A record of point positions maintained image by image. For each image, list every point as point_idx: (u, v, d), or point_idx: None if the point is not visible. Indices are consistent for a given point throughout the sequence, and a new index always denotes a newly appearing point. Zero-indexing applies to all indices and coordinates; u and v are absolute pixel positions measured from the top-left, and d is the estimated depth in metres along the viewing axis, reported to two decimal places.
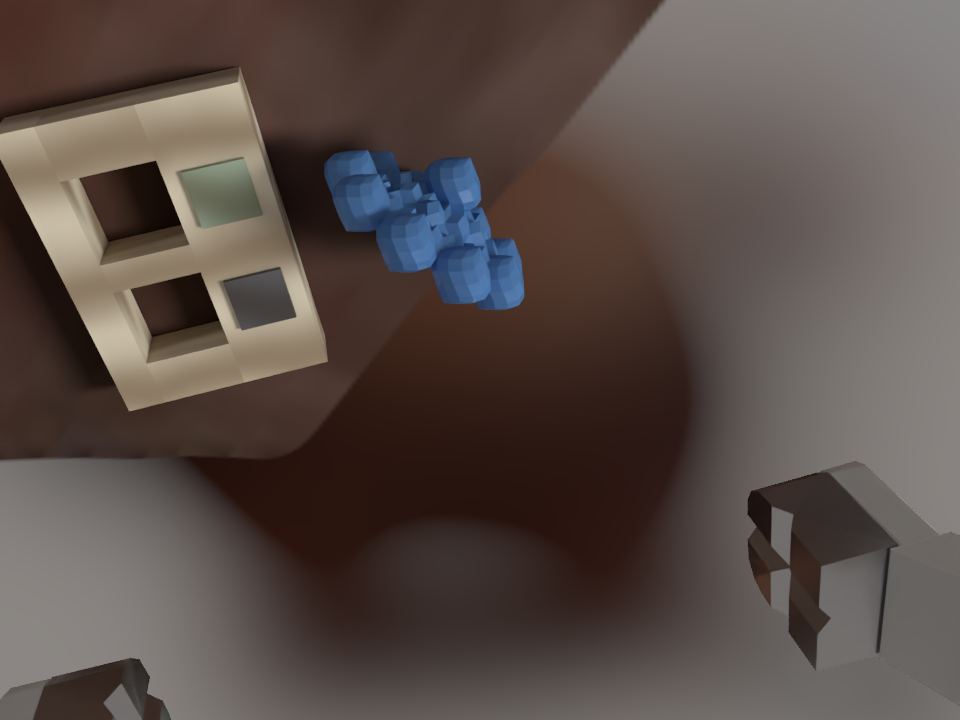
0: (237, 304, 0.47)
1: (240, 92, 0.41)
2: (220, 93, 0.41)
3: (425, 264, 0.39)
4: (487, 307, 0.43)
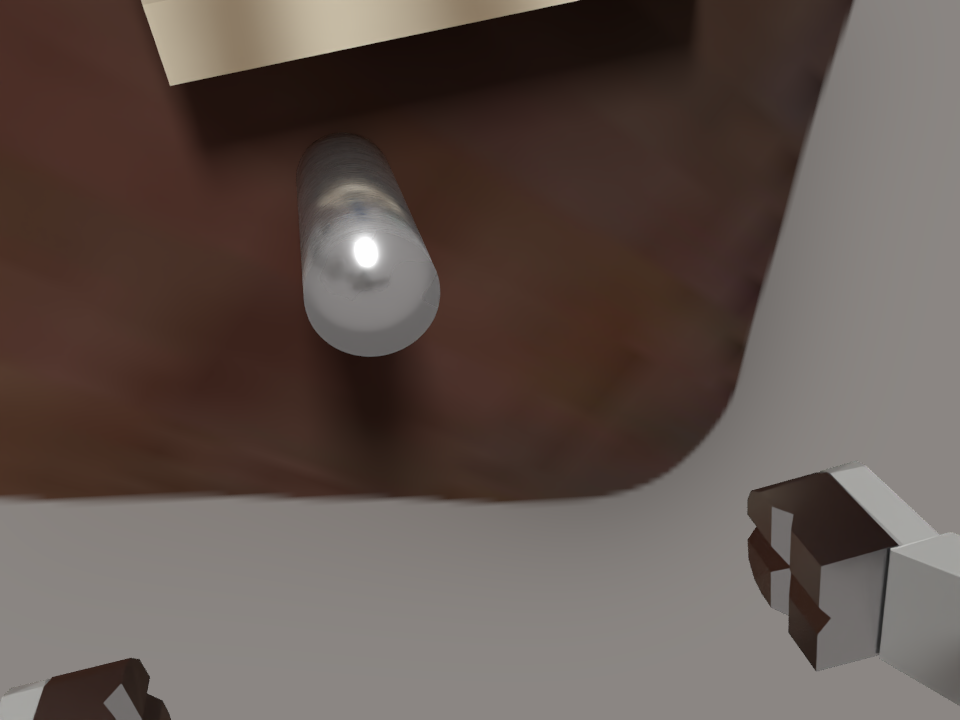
0: None
1: None
2: None
3: None
4: None
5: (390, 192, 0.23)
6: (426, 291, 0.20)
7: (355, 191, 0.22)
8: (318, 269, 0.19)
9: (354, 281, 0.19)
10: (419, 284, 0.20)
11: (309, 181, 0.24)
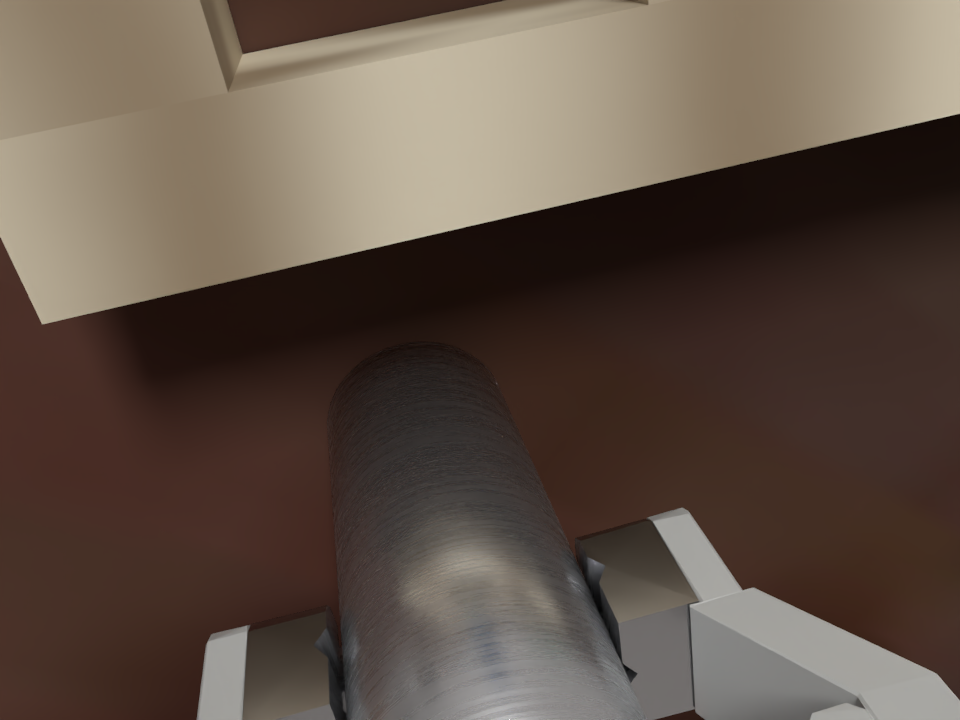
0: None
1: None
2: None
3: None
4: None
5: (568, 601, 0.09)
6: None
7: (497, 644, 0.08)
8: None
9: None
10: None
11: (362, 509, 0.11)
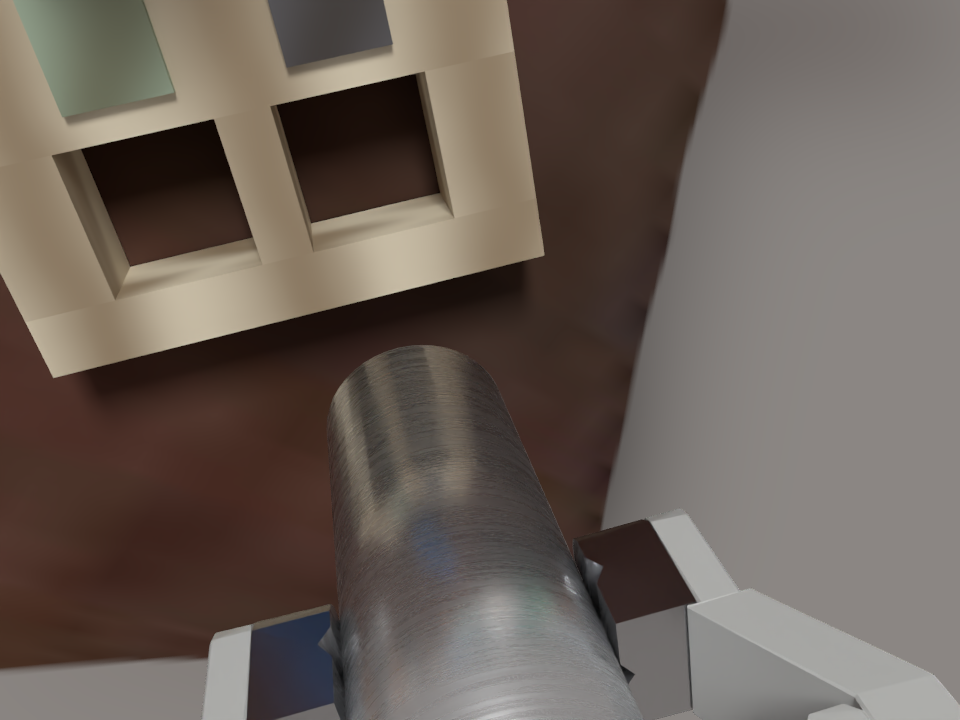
0: (334, 45, 0.24)
1: None
2: None
3: None
4: None
5: (567, 606, 0.09)
6: None
7: (497, 648, 0.08)
8: None
9: None
10: None
11: (362, 513, 0.11)
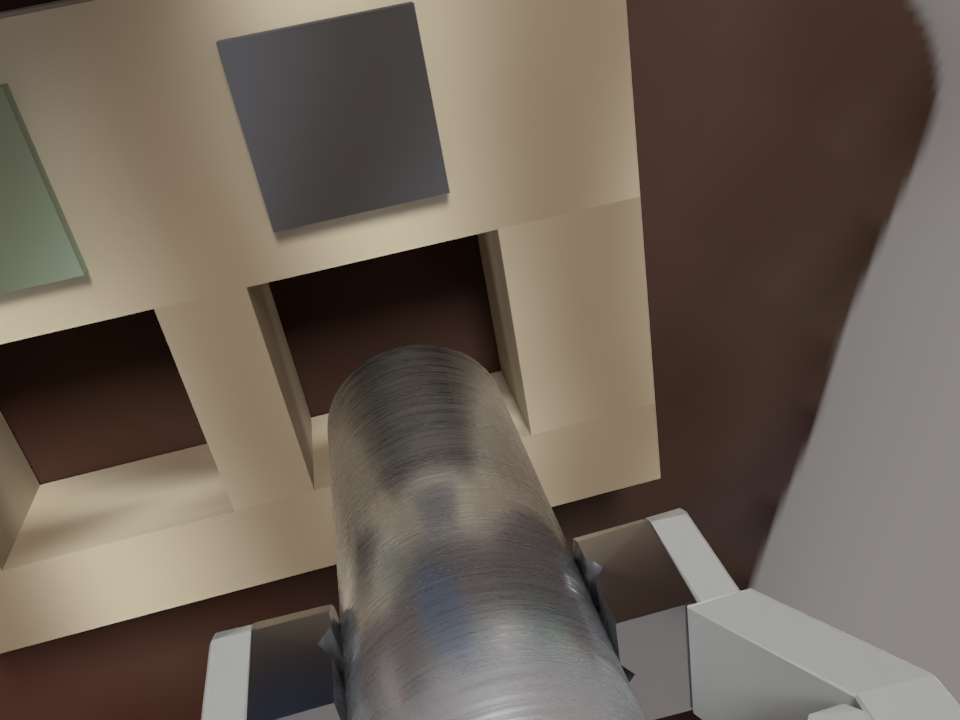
0: (353, 197, 0.15)
1: None
2: None
3: None
4: None
5: (569, 605, 0.09)
6: None
7: (497, 648, 0.08)
8: None
9: None
10: None
11: (363, 512, 0.11)
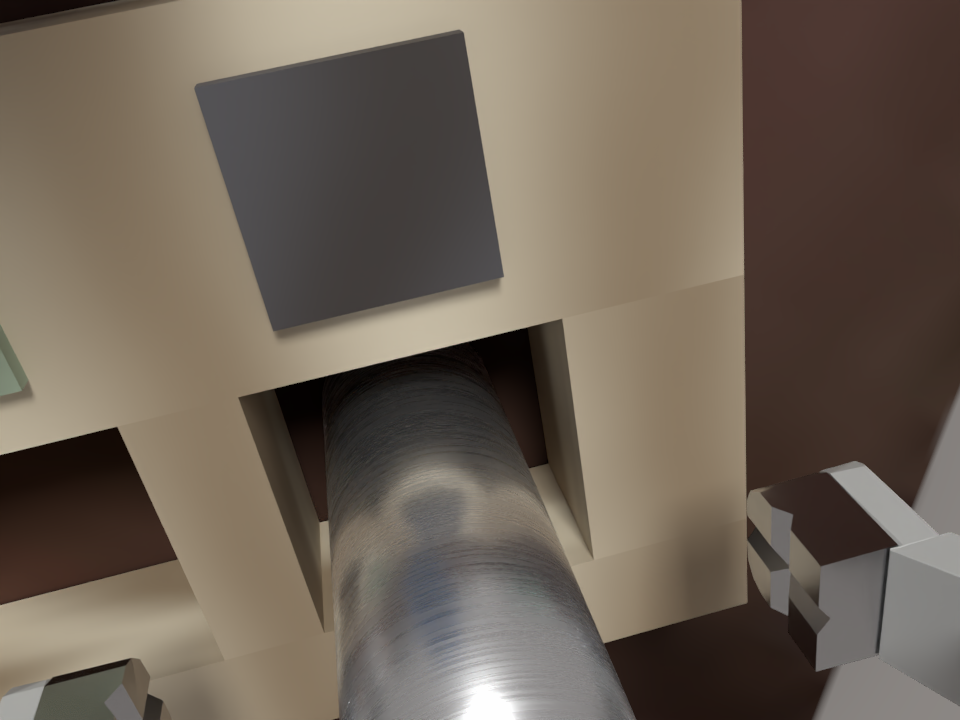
0: (378, 284, 0.11)
1: None
2: None
3: None
4: None
5: (538, 548, 0.10)
6: None
7: (470, 582, 0.09)
8: None
9: None
10: None
11: (352, 470, 0.12)
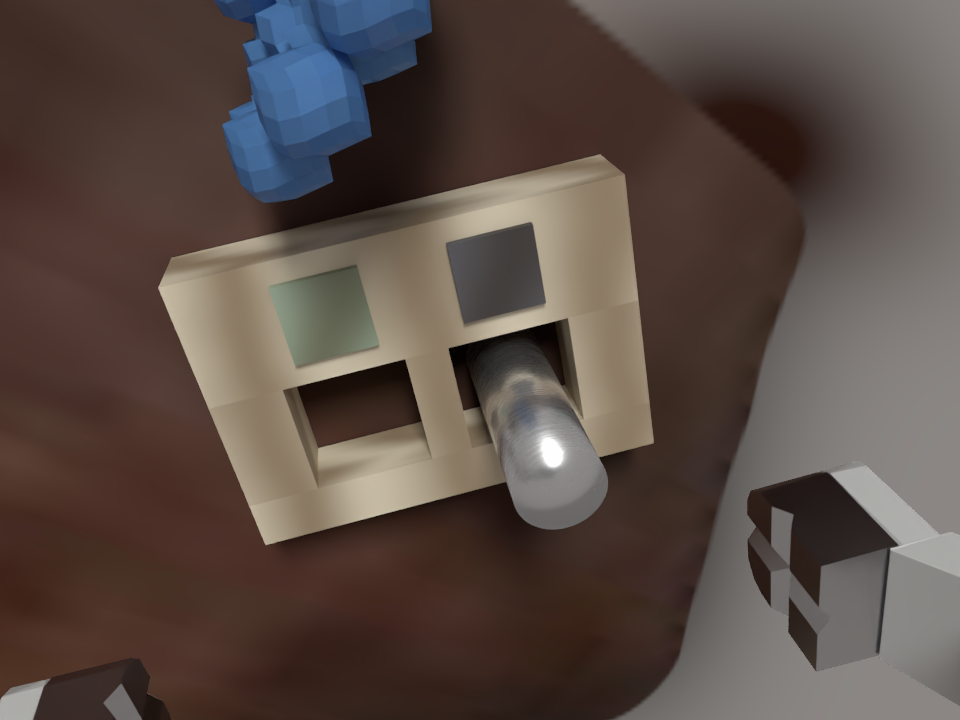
0: (501, 306, 0.31)
1: (173, 285, 0.29)
2: (178, 310, 0.30)
3: (330, 81, 0.19)
4: None
5: (559, 394, 0.30)
6: (597, 485, 0.27)
7: (537, 400, 0.29)
8: (524, 475, 0.27)
9: (548, 481, 0.27)
10: (593, 482, 0.27)
11: (490, 375, 0.32)
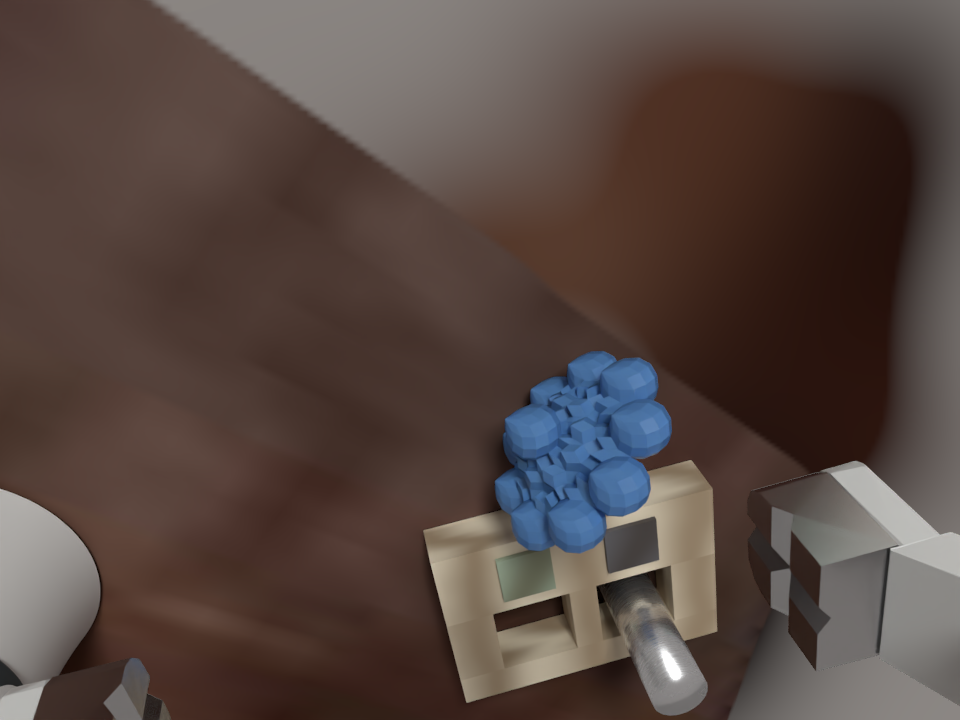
0: (632, 563, 0.50)
1: (439, 562, 0.47)
2: (439, 575, 0.48)
3: (597, 528, 0.38)
4: None
5: (670, 623, 0.49)
6: (701, 691, 0.46)
7: (660, 631, 0.48)
8: (661, 688, 0.45)
9: (674, 690, 0.46)
10: (699, 689, 0.46)
11: (622, 602, 0.51)
